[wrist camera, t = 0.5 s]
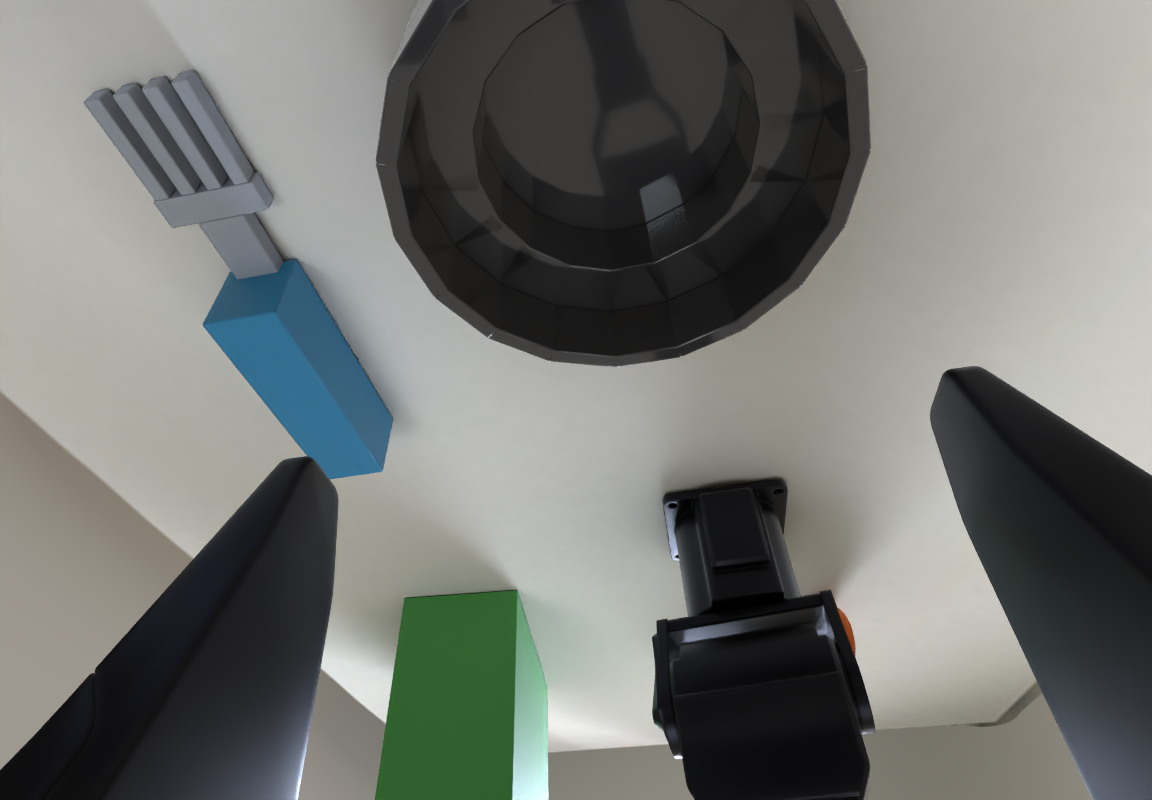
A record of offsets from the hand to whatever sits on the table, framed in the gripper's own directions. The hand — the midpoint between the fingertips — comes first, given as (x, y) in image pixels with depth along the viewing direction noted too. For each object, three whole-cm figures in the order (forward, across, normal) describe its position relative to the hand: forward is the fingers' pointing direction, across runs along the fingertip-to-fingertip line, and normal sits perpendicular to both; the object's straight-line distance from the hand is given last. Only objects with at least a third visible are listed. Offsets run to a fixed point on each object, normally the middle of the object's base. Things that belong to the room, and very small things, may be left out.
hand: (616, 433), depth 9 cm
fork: (+14, +12, +6) cm, 19 cm away
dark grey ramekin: (+14, -1, +2) cm, 14 cm away
